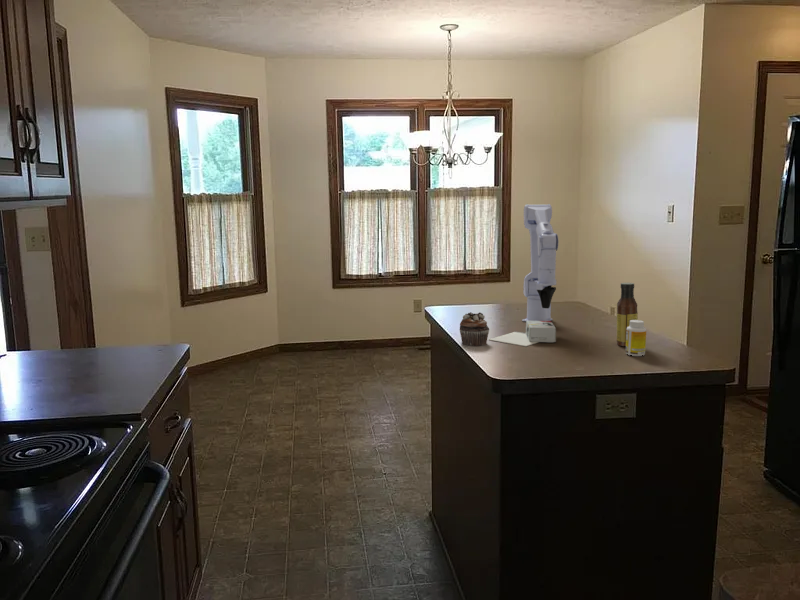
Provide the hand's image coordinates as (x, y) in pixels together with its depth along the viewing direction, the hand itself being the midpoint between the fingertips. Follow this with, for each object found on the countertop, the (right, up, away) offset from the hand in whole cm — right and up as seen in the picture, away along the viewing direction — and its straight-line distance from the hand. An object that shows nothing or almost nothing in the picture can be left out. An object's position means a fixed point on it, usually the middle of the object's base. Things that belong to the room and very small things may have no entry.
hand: (545, 307), depth 225 cm
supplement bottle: (+19, -14, -32) cm, 40 cm away
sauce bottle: (+21, -12, -20) cm, 31 cm away
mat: (-11, -10, -11) cm, 18 cm away
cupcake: (-27, -11, -16) cm, 33 cm away
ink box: (-4, -7, -5) cm, 9 cm away
